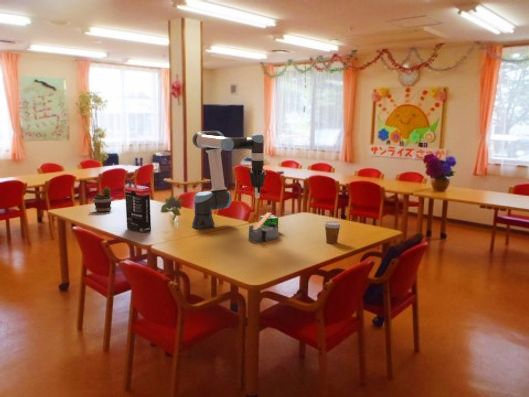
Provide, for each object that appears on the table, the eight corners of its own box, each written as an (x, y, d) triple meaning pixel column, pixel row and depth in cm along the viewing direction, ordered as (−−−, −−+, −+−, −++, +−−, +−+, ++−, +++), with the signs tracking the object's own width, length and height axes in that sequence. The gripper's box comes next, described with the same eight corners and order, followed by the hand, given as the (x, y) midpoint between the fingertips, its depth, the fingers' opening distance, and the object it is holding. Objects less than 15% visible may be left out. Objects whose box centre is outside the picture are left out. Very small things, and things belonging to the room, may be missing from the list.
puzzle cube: (273, 229, 303) (273, 214, 301) (278, 233, 294) (278, 218, 292) (258, 230, 300) (259, 215, 298) (263, 234, 291) (263, 218, 289)
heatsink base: (246, 239, 276) (246, 225, 275) (265, 233, 291) (265, 220, 290) (261, 243, 269) (261, 228, 267) (280, 236, 284) (280, 222, 282)
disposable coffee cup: (340, 241, 276) (341, 222, 274) (338, 245, 267) (339, 225, 265) (325, 239, 279) (325, 220, 276) (322, 243, 270) (323, 224, 267)
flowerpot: (95, 213, 343) (93, 187, 339) (92, 210, 356) (90, 185, 352) (115, 212, 349) (113, 186, 346) (111, 208, 363) (110, 183, 359)
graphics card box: (152, 231, 294) (150, 189, 289) (143, 233, 288) (142, 191, 283) (134, 227, 303) (132, 187, 298) (125, 229, 297) (124, 188, 292)
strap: (251, 230, 274) (251, 228, 273) (266, 213, 284) (266, 211, 283) (258, 232, 271) (257, 230, 270) (273, 214, 281) (272, 212, 280)
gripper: (245, 159, 279) (245, 197, 283) (262, 161, 271) (261, 199, 275) (253, 158, 285) (253, 195, 289) (269, 160, 277) (269, 198, 281)
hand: (257, 197), depth 282 cm, fingers closed
